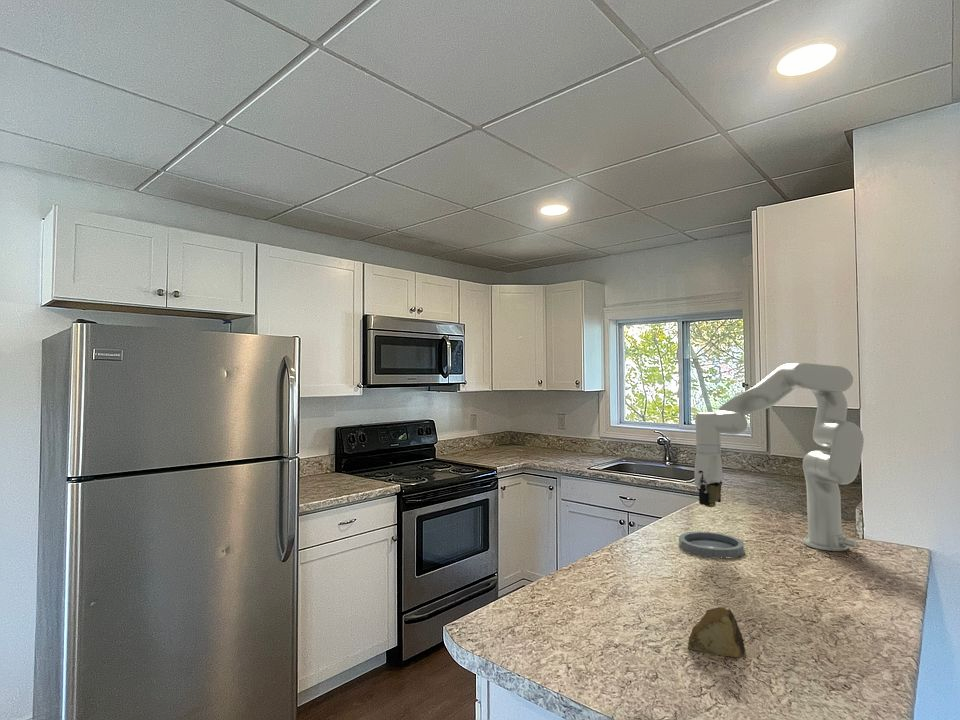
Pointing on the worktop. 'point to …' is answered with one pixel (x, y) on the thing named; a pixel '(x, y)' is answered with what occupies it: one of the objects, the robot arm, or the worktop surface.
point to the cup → (713, 494)
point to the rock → (717, 634)
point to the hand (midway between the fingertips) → (710, 502)
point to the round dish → (711, 544)
